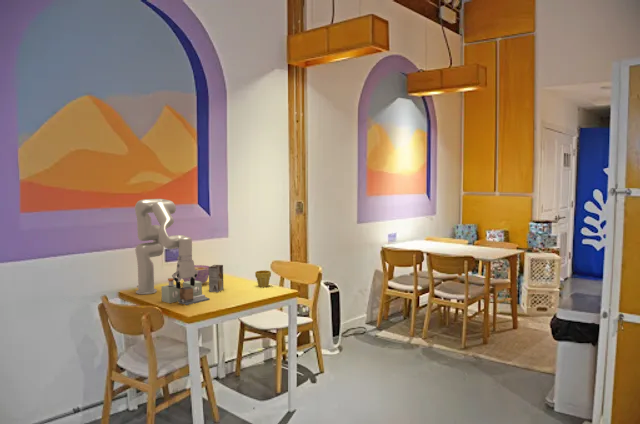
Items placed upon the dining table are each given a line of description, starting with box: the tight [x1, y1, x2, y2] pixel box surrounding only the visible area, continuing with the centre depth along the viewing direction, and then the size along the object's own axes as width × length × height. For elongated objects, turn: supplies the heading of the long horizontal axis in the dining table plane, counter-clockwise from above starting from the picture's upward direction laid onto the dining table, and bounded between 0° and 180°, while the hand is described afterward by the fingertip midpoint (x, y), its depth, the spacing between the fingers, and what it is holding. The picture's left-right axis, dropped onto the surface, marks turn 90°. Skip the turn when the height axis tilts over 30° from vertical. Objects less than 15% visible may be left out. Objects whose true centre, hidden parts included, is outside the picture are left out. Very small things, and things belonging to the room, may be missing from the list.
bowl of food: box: [182, 264, 210, 285], centre depth 354 cm, size 20×20×12 cm
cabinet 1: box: [160, 284, 182, 304], centre depth 310 cm, size 8×8×9 cm
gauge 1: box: [167, 277, 175, 287], centre depth 309 cm, size 3×3×7 cm
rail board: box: [177, 294, 211, 306], centre depth 309 cm, size 9×16×2 cm, turn 139°
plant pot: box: [254, 269, 272, 288], centre depth 348 cm, size 10×10×10 cm
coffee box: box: [208, 264, 224, 293], centre depth 336 cm, size 9×6×16 cm
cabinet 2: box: [182, 281, 203, 297], centre depth 321 cm, size 8×8×9 cm
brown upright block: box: [180, 286, 193, 302], centre depth 305 cm, size 6×5×8 cm
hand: (185, 286), depth 305 cm, fingers open, 9 cm apart
